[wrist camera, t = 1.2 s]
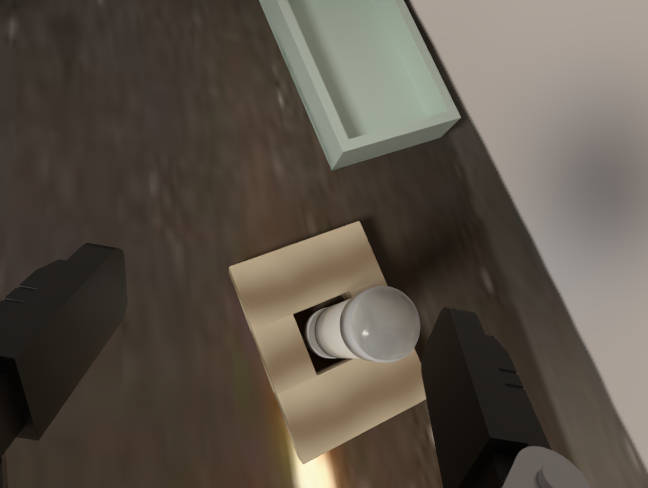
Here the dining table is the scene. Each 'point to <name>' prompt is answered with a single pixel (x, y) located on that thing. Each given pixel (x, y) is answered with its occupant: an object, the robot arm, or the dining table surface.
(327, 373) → the fuse holder
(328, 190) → the dining table surface
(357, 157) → the parts tray
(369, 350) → the fuse
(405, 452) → the dining table surface
